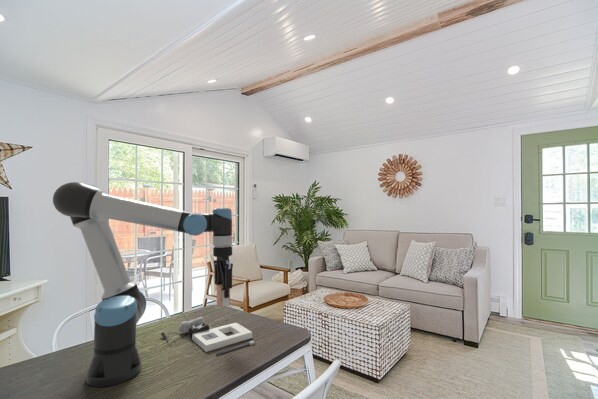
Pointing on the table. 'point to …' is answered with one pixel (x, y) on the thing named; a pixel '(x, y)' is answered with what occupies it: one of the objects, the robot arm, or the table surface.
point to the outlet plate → (221, 336)
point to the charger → (220, 295)
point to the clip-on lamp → (190, 327)
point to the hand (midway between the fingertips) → (223, 304)
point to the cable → (236, 347)
